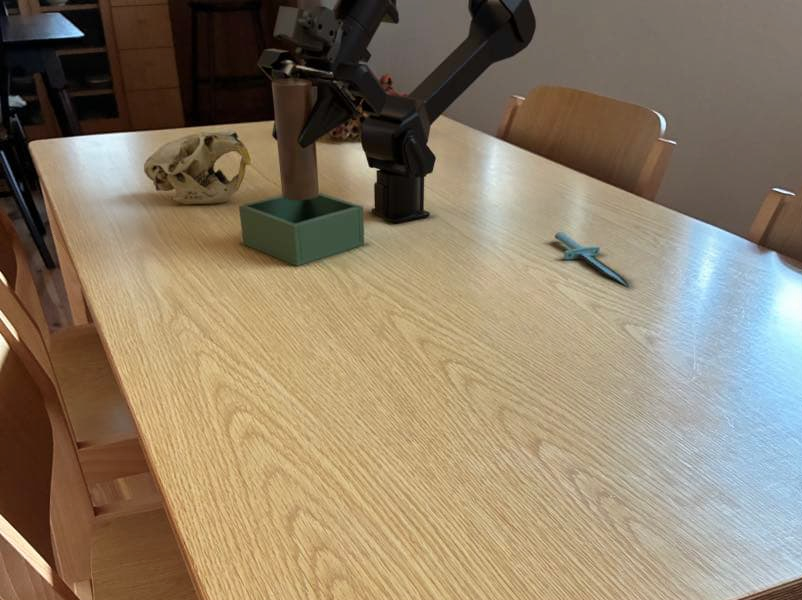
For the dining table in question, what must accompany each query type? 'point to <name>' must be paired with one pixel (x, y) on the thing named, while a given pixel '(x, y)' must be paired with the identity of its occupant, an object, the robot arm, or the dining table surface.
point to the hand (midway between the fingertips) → (287, 142)
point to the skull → (197, 167)
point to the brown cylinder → (295, 138)
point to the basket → (302, 227)
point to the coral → (361, 114)
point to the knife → (588, 257)
